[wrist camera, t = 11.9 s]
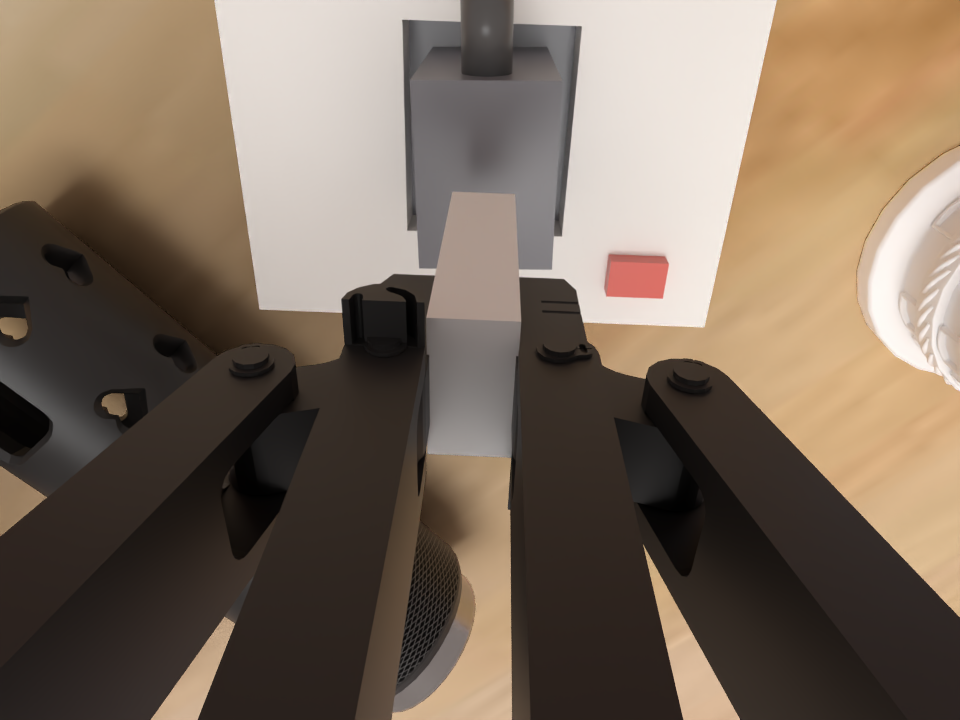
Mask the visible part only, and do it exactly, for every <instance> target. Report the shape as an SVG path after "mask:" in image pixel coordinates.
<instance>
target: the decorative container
mask: <svg viewBox="0 0 960 720" xmlns="http://www.w3.org/2000/svg"><path fill="white" fill-rule="evenodd" d="M857 300H858V303H859V306H860V308H861V311H862V314H863V316H864V319H865V322H866V324H867V325H868V327H869V328H870V329H871V330H872V331H873V332H874V334H875V335H876V336H877V337H878V338H879V339H880V341H881V342H882V343H883V344H884V345H885V346H886V347H887V348H888V349H889V350H890V351H891V352H892V353H893V354H894V356H896V357H898V358H900V359H901V360H903V361H905V362H907V363H908V364H910V365H912V366H914V367H915V368H917V369H920V370H924V371H928V372H932V373H935V374H937V375H939V376H943V377H944V381H945V382H946V384H949V385H952V386H953V387H954V388H955V389H956V390H958V391H960V146H958V147H956V148H954V149H952V150H950V151H948V152H946V153H944V154H942V155H941V156H939V157H938V158H937V159H935V160H934V161H933V162H931V163H930V164H929V165H927V166H926V167H925V168H924V169H922V170H921V171H920V172H918V173H917V174H916V175H914V176H913V177H912V178H910V179H909V180H908V181H907V182H906V184H905V185H904V186H903V187H902V188H901V189H900V190H899V192H898V193H897V194H896V195H895V196H894V197H893V198H892V199H891V201H890V202H889V203H888V204H887V205H886V206H885V207H884V209H883V210H882V212H881V214H880V215H879V217H878V219H877V221H876V222H875V224H874V226H873V228H872V229H871V231H870V233H869V235H868V236H867V238H866V240H865V243H864V247H863V250H862V254H861V258H860V261H859V265H858V269H857Z"/></svg>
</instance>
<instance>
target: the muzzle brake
mask: <svg viewBox="0 0 960 720" xmlns="http://www.w3.org/2000/svg"><path fill="white" fill-rule="evenodd" d="M4 317H14V318H26V320H27V325H28V331H27V334H26V336H25V337H23V338H21V339H18V340H14V339H13V336H10V335H5V334H3V333H2V332H1V330H0V466H2V467H3V468H5V469H6V470H8V471H9V472H10V473H12V474H13V475H15V476H16V477H18V478H19V479H21V480H22V481H24V482H25V483H27V484H28V485H30V486H31V487H33V488H34V489H36V490H37V491H39V492H40V493H42V494H43V495H45V496H46V497H48V496H50V495H51V494H52V493H53V492H54V491H56V490H57V489H58V488H59V487H60V486H62V485H63V484H64V483H65V482H66V481H68V480H69V479H70V478H71V477H72V476H74V475H75V474H76V473H77V472H78V471H80V470H81V469H82V468H83V467H84V466H86V465H87V464H88V463H89V462H90V461H92V460H93V459H94V458H95V457H96V456H98V455H99V454H100V453H101V452H102V451H103V450H105V449H106V448H107V447H108V446H109V445H111V444H112V443H113V442H114V441H115V440H117V439H118V438H119V437H120V436H121V435H123V434H124V433H125V432H126V431H127V430H129V429H130V428H131V427H132V426H133V425H135V424H136V423H137V422H138V421H139V420H141V419H142V418H143V417H144V416H145V415H147V414H148V413H149V412H150V411H151V410H153V409H154V408H155V407H156V406H157V405H159V404H160V403H161V402H162V401H163V400H165V399H166V398H167V397H168V396H169V395H171V394H172V393H173V392H174V391H175V390H177V389H178V388H179V387H180V386H181V385H183V384H184V383H185V382H186V381H187V380H189V379H190V378H191V377H192V376H193V375H195V374H196V373H197V372H198V371H199V370H201V369H202V368H203V367H204V366H205V365H206V364H208V363H209V362H210V361H211V360H212V359H214V358H215V357H217V355H215V354H214V353H213V352H212V351H211V350H210V349H208V348H207V347H206V346H205V345H204V344H202V343H201V342H200V341H199V340H198V339H197V338H195V337H194V336H193V335H192V334H191V333H189V332H188V331H187V330H186V329H185V328H184V327H182V326H181V325H180V324H179V323H178V322H176V321H175V320H174V319H173V318H172V317H171V316H169V315H168V314H167V313H166V312H165V311H163V310H162V309H161V308H160V307H159V306H158V305H156V304H155V303H154V302H153V301H152V300H150V299H149V298H148V297H147V296H146V295H145V294H143V293H142V292H141V291H140V290H139V289H137V288H136V287H135V286H134V285H133V284H132V283H130V282H129V281H128V280H127V279H126V278H124V277H123V276H122V275H121V274H120V273H119V272H117V271H116V270H115V269H114V268H113V267H111V266H110V265H109V264H108V263H107V262H106V261H104V260H103V259H102V258H101V257H100V256H98V255H97V254H96V253H95V252H94V251H93V250H91V249H90V248H89V247H88V246H87V245H86V244H84V243H83V242H82V241H81V240H80V239H78V238H77V237H76V236H75V235H74V234H73V233H71V232H70V231H69V230H68V229H67V228H65V227H64V226H63V225H62V224H61V223H60V222H58V221H57V220H56V219H55V218H54V217H52V216H51V215H50V214H49V213H48V212H47V211H45V210H44V209H43V208H42V207H41V206H39V205H38V204H37V203H36V202H35V201H22V202H19V203H15V204H13V205H11V206H9V207H6V208H4V209H2V210H0V319H1V318H4ZM111 393H124V396H125V401H126V406H127V411H126V414H125V415H124V416H122V417H119V415H112V414H109V412H108V410H107V407H103V406H102V405H101V402H102V399H103V398H104V396H106V395H108V394H111ZM254 575H255V574H254ZM253 577H254V576H253ZM253 577H252V579H251V580H250V581H249V583H248V584H247V586H246V587H245V588H244V590H243V591H242V593H241V594H240V595H239V597H238V598H237V600H236V601H235V602H234V604H233V605H232V607H231V608H230V609H229V611H228V612H227V614H226V615H225V617H226V618H228V619H229V620H231V621H232V622H234V623H236V621H237V618H238V616H239V613H240V611H241V608H242V606H243V603H244V600H245V598H246V595H247V593H248V590H249V588H250V585H251V583H252V580H253ZM474 616H475V596H474V592H473V589H472V586H471V584H470V582H469V581H468V579H467V578H466V577H465V576H464V575H462V574H461V570H460V566H459V563H458V559H457V556H456V554H455V553H454V551H453V550H452V548H451V547H450V546H449V545H448V544H447V543H446V542H444V541H443V540H442V539H441V538H440V537H439V536H437V535H436V534H435V533H434V532H433V531H432V530H430V529H429V528H428V527H427V526H426V525H425V524H423V523H422V522H421V521H419V528H418V535H417V542H416V549H415V556H414V563H413V570H412V577H411V584H410V591H409V599H408V606H407V613H406V620H405V627H404V634H403V641H402V648H401V655H400V662H399V669H398V676H397V683H396V690H395V697H394V704H393V712H392V713H395V712H403V711H406V710H408V709H411V708H413V707H415V706H416V705H418V704H419V703H421V702H423V701H424V700H425V699H426V698H427V697H429V696H430V695H431V694H432V693H433V692H434V691H435V690H436V689H437V688H438V687H439V686H440V685H441V683H442V682H443V681H444V680H445V679H446V678H447V676H448V675H449V673H450V672H451V671H452V669H453V668H454V666H455V665H456V663H457V661H458V660H459V658H460V656H461V654H462V652H463V651H464V648H465V646H466V643H467V641H468V639H469V636H470V633H471V629H472V626H473V622H474Z"/></svg>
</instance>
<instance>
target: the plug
mask: <svg viewBox="0 0 960 720" xmlns="http://www.w3.org/2000/svg"><path fill="white" fill-rule="evenodd" d="M460 11H461V47H432V49H431V50H430V52H429V53H428V54H427V56H426V57H425V59H424V60H423V62H422V63H421V65H420V66H419V68H418V69H417V70H416V72H415V73H414V75H413V76H412V78H411V79H410V95H411V115H412V135H413V156H414V176H415V196H416V216H417V237H418V257H419V268H425V269H436V268H437V264H438V259H439V254H440V249H441V244H442V239H443V235H444V230H445V225H446V220H447V215H448V210H449V206H450V201H451V196H452V192H474V193H500V194H515V202H516V223H517V244H518V265H519V269H528V270H552V259H553V241H554V224H555V206H556V188H557V170H558V152H559V134H560V116H561V98H562V79H561V76H560V74H559V72H558V70H557V67H556V65H555V63H554V61H553V59H552V56H551V54H550V52H549V50H548V48H547V47H513V22H514V0H460Z"/></svg>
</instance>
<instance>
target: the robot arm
mask: <svg viewBox="0 0 960 720" xmlns="http://www.w3.org/2000/svg"><path fill="white" fill-rule="evenodd" d="M341 304H342V317H343V329H344V342H345V345H344V348H343V350H342V353H341V355H340V358H339V359H336V360H333V361H331V362H327V363H322V364H317V365H310V366H303V367H296V364H295V359H294V355H293V354H292V353H291V352H289V351H288V350H287V349H286V348H282V347H279V346H276V345H269V344H261V343H254V344H252V345H250V344H246V345H241V346H239V347H236V348H233V349H230V350H227V351H225V352H223V353H222V354H220V355H218V356H217V357H215V358H214V359H212V360H211V361H210V362H209V363H208V364H206V365H205V366H204V367H203V368H202V369H201V370H199V371H198V372H197V373H196V374H195V375H193V376H192V377H191V378H190V379H189V380H187V381H186V382H185V383H184V384H183V385H181V386H180V387H179V388H178V389H177V390H175V391H174V392H173V393H172V394H171V395H169V396H168V397H167V398H166V399H165V400H163V401H162V402H161V403H160V404H159V405H157V406H156V407H155V408H154V409H153V410H151V411H150V412H149V413H148V414H147V415H145V416H144V417H143V418H142V419H141V420H139V421H138V422H137V423H136V424H135V425H133V426H132V427H131V428H130V429H129V430H127V431H126V432H125V433H124V434H123V435H121V436H120V437H119V438H118V439H117V440H115V441H114V442H113V443H112V444H111V445H109V446H108V447H107V448H106V449H105V450H103V451H102V452H101V453H100V454H99V455H98V456H96V457H95V458H94V459H93V460H92V461H90V462H89V463H88V464H87V465H86V466H84V467H83V468H82V469H81V470H80V471H78V472H77V473H76V474H75V475H74V476H72V477H71V478H70V479H69V480H68V481H66V482H65V483H64V484H63V485H62V486H60V487H59V488H58V489H57V490H56V491H54V492H53V493H52V494H51V495H50V496H48V497H47V498H46V499H45V500H44V501H42V502H41V503H40V504H39V505H38V506H36V507H35V508H34V509H33V510H32V511H30V512H29V513H28V514H27V515H26V516H24V517H23V518H22V519H21V520H20V521H18V522H17V523H16V524H15V525H14V526H12V527H11V528H10V529H9V530H8V531H6V532H5V533H4V534H3V535H2V536H0V720H151V718H152V717H153V715H154V714H155V713H156V711H157V710H158V709H159V707H160V706H161V704H162V703H163V702H164V700H165V699H166V697H167V696H168V695H169V693H170V692H171V690H172V689H173V688H174V686H175V685H176V683H177V682H178V681H179V679H180V678H181V676H182V675H183V674H184V672H185V671H186V669H187V668H188V667H189V665H190V664H191V662H192V661H193V660H194V658H195V657H196V655H197V654H198V653H199V651H200V650H201V648H202V647H203V646H204V644H205V643H206V641H207V640H208V639H209V637H210V636H211V634H212V633H213V632H214V630H215V629H216V627H217V626H218V625H219V623H220V622H221V621H222V619H223V618H224V616H225V615H226V614H227V612H228V611H229V609H230V608H231V607H232V605H233V604H234V602H235V601H236V600H237V598H238V597H239V595H240V594H241V593H242V591H243V590H244V588H245V587H246V586H247V584H248V583H249V581H250V580H251V579H252V577H253V576H254V577H253V580H252V583H251V585H250V588H249V590H248V593H247V595H246V598H245V600H244V603H243V606H242V608H241V611H240V613H239V616H238V618H237V621H236V623H235V626H234V629H233V631H232V634H231V636H230V639H229V641H228V644H227V646H226V649H225V651H224V654H223V657H222V659H221V662H220V664H219V667H218V669H217V672H216V674H215V677H214V680H213V682H212V685H211V687H210V690H209V692H208V695H207V697H206V700H205V703H204V705H203V708H202V710H201V713H200V715H199V718H198V720H391V719H392V712H393V704H394V697H395V690H396V683H397V676H398V669H399V662H400V655H401V648H402V641H403V634H404V627H405V620H406V613H407V606H408V599H409V591H410V584H411V577H412V570H413V563H414V556H415V549H416V542H417V535H418V528H419V521H420V514H421V507H422V500H423V493H424V486H425V478H426V447H427V445H428V454H438V455H461V456H485V457H508V458H511V471H510V485H509V500H508V509H509V510H510V516H511V634H512V720H683V717H682V713H681V708H680V704H679V700H678V695H677V691H676V686H675V682H674V678H673V673H672V669H671V665H670V660H669V656H668V652H667V647H666V643H665V638H664V634H663V630H662V625H661V621H660V617H659V612H658V608H657V604H656V599H655V595H654V591H653V586H652V582H651V577H650V573H649V569H648V564H647V560H646V556H645V551H644V547H643V545H644V546H645V548H646V550H647V552H648V554H649V555H650V557H651V559H652V561H653V563H654V564H655V566H656V568H657V570H658V572H659V573H660V575H661V577H662V579H663V581H664V583H665V584H666V586H667V588H668V590H669V592H670V593H671V595H672V597H673V599H674V601H675V602H676V604H677V606H678V608H679V610H680V611H681V613H682V615H683V617H684V619H685V620H686V622H687V624H688V626H689V628H690V629H691V631H692V633H693V635H694V637H695V639H696V640H697V642H698V644H699V646H700V648H701V649H702V651H703V653H704V655H705V657H706V658H707V660H708V662H709V664H710V666H711V667H712V669H713V671H714V673H715V675H716V676H717V678H718V680H719V682H720V684H721V685H722V687H723V689H724V691H725V693H726V694H727V696H728V698H729V700H730V702H731V704H732V705H733V707H734V709H735V711H736V713H737V714H738V716H739V718H740V720H960V617H959V616H958V615H957V614H956V613H955V612H954V611H953V610H952V609H951V608H950V607H949V606H948V605H947V604H946V603H945V602H944V601H943V600H942V599H941V598H940V597H939V595H938V594H937V593H936V592H935V591H934V590H933V589H932V588H931V587H930V586H929V585H928V584H927V583H926V582H925V581H924V580H923V579H922V578H921V577H920V576H919V575H918V574H917V573H916V572H915V570H914V569H913V568H912V567H911V566H910V565H909V564H908V563H907V562H906V561H905V560H904V559H903V558H902V557H901V556H900V555H899V554H898V553H897V552H896V551H895V550H894V549H893V548H892V547H891V545H890V544H889V543H888V542H887V541H886V540H885V539H884V538H883V537H882V536H881V535H880V534H879V533H878V532H877V531H876V530H875V529H874V528H873V527H872V526H871V525H870V524H869V523H868V522H867V520H866V519H865V518H864V517H863V516H862V515H861V514H860V513H859V512H858V511H857V510H856V509H855V508H854V507H853V506H852V505H851V504H850V503H849V502H848V501H847V500H846V499H845V498H844V497H843V495H842V494H841V493H840V492H839V491H838V490H837V489H836V488H835V487H834V486H833V485H832V484H831V483H830V482H829V481H828V480H827V479H826V478H825V477H824V476H823V475H822V474H821V473H820V472H819V470H818V469H817V468H816V467H815V466H814V465H813V464H812V463H811V462H810V461H809V460H808V459H807V458H806V457H805V456H804V455H803V454H802V453H801V452H800V451H799V450H798V449H797V448H796V447H795V445H794V444H793V443H792V442H791V441H790V440H789V439H788V438H787V437H786V436H785V435H784V434H783V433H782V432H781V431H780V430H779V429H778V428H777V427H776V426H775V425H774V424H773V423H772V422H771V420H770V419H769V418H768V417H767V416H766V415H765V414H764V413H763V412H762V411H761V410H760V409H759V408H758V407H757V406H756V405H755V404H754V403H753V402H752V401H751V400H750V399H749V398H748V396H747V395H746V394H745V393H744V392H743V391H742V390H741V389H740V388H739V387H738V386H737V385H736V384H735V383H734V382H733V381H732V380H731V379H730V378H729V377H728V376H727V375H725V374H724V373H723V372H721V371H720V370H719V369H717V368H715V367H712V366H710V365H708V364H705V363H704V362H701V361H697V360H695V361H693V359H668V360H663V361H659V362H657V363H655V364H654V365H652V366H651V367H649V369H648V372H647V375H646V379H642V378H637V377H633V376H628V375H625V374H621V373H618V372H615V371H613V370H610V369H608V368H606V367H604V366H603V365H602V364H601V359H600V355H599V353H598V351H597V350H596V348H595V347H594V346H593V345H591V344H590V343H588V342H587V339H586V334H585V330H584V325H583V320H582V315H581V311H580V306H579V301H578V296H577V292H576V289H575V288H573V287H572V286H571V285H570V284H569V283H568V282H567V281H566V280H565V279H555V278H530V277H519V265H518V244H517V223H516V202H515V194H500V193H474V192H452V196H451V201H450V206H449V210H448V215H447V220H446V225H445V230H444V235H443V239H442V244H441V249H440V254H439V259H438V264H437V268H436V273H435V275H410V274H393V275H391V276H390V277H389V278H387V279H386V280H385V281H383V282H382V283H380V284H371V285H367V286H362V287H358V288H356V289H354V290H352V291H349V292H347V293H346V294H345V296H344V297H343V298H342V299H341ZM254 574H255V575H254Z"/></svg>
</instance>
